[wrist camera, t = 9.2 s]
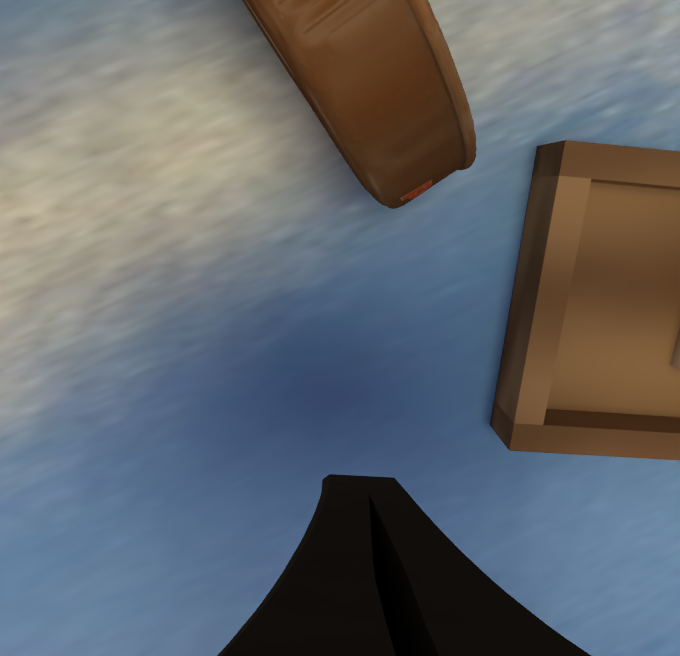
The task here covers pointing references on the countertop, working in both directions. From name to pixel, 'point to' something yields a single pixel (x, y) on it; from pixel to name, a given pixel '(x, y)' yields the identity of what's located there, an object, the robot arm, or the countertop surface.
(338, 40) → the tin
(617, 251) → the box
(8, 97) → the countertop surface
